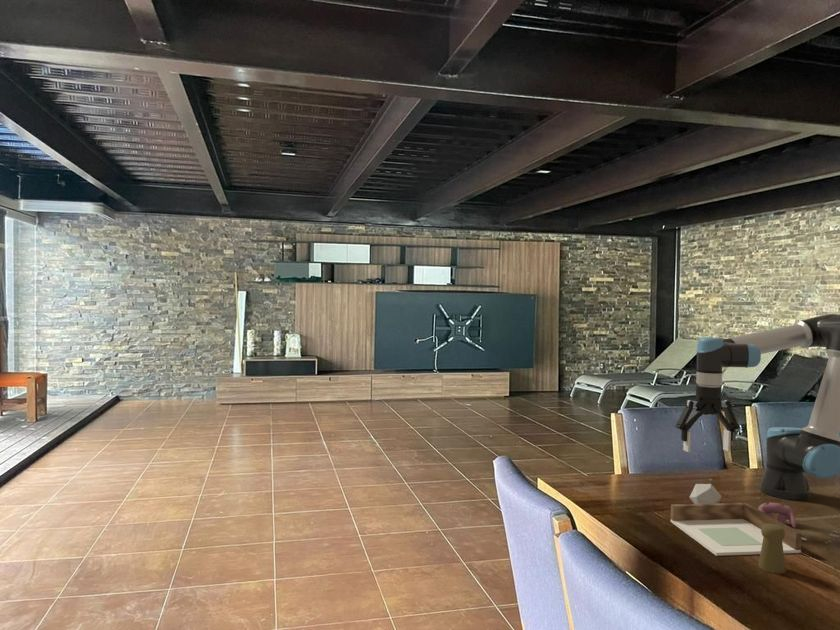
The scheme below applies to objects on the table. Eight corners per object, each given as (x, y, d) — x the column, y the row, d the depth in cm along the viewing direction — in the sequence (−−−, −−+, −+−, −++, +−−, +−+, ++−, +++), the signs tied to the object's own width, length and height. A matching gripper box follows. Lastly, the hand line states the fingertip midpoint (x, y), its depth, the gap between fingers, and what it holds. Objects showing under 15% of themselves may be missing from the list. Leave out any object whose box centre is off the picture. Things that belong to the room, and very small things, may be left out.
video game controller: (794, 529, 183) (792, 505, 186) (797, 527, 179) (795, 503, 182) (757, 525, 187) (755, 501, 189) (760, 523, 183) (758, 499, 185)
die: (718, 517, 190) (729, 490, 193) (692, 502, 191) (704, 475, 194) (705, 517, 198) (717, 491, 201) (681, 503, 199) (693, 477, 202)
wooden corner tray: (744, 519, 187) (745, 502, 187) (800, 552, 163) (801, 533, 163) (670, 521, 185) (670, 504, 184) (716, 555, 161) (716, 536, 161)
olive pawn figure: (753, 563, 156) (754, 521, 156) (775, 562, 157) (776, 520, 157) (768, 573, 150) (769, 530, 150) (791, 573, 151) (792, 529, 151)
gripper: (738, 383, 200) (736, 447, 200) (665, 383, 197) (663, 448, 198) (752, 387, 192) (750, 453, 193) (677, 387, 190) (675, 454, 191)
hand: (706, 451), depth 195 cm, fingers open, 13 cm apart
